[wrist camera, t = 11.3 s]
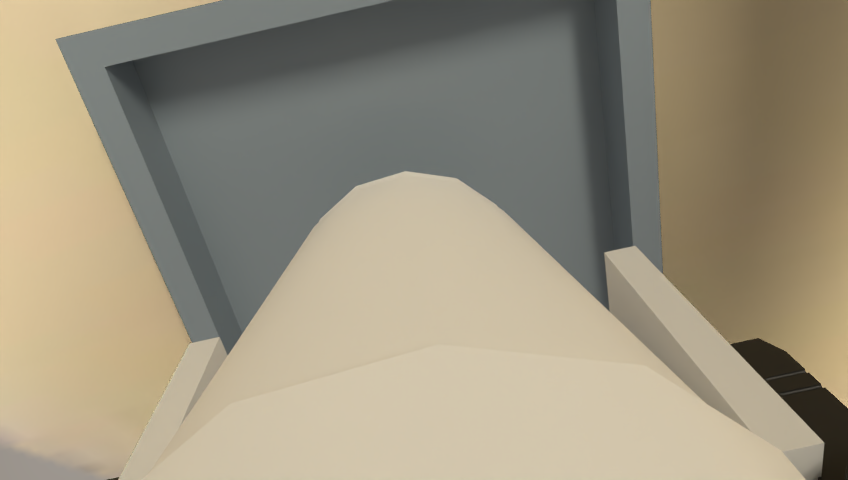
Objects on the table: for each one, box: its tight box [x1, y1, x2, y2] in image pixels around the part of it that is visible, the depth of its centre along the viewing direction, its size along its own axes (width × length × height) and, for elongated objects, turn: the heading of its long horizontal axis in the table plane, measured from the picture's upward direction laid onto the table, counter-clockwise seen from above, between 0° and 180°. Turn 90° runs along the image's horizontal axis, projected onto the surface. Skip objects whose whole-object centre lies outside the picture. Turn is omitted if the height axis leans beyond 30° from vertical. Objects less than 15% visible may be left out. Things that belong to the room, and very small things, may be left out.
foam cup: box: [141, 171, 806, 480], centre depth 11 cm, size 10×9×13 cm
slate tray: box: [56, 0, 663, 355], centre depth 21 cm, size 17×17×3 cm
